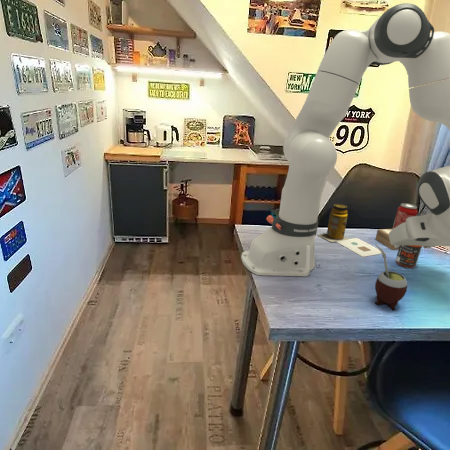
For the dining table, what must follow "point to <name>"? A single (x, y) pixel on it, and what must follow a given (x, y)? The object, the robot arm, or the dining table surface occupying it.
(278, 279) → the dining table surface
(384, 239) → the pedestal
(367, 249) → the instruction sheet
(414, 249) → the supplement bottle
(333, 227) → the condiment
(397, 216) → the soda can
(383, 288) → the mate gourd
